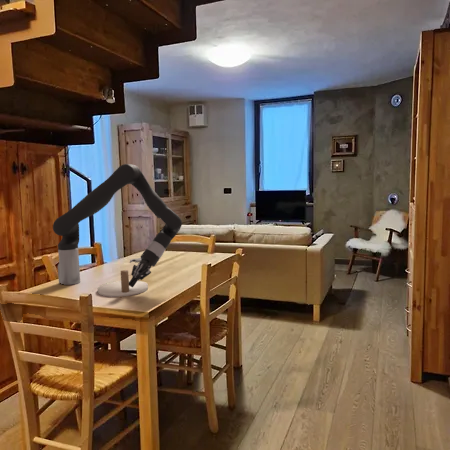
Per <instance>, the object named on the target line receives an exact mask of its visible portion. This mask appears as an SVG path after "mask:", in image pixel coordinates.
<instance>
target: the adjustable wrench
mask: <svg viewBox="0 0 450 450" xmlns="http://www.w3.org/2000/svg"><path fill="white" fill-rule="evenodd" d="M140 261H141V257H138V258H131V259H129V263H133V262H135V263H139V262H140Z"/></svg>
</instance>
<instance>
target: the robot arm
mask: <svg viewBox="0 0 450 450" xmlns="http://www.w3.org/2000/svg"><path fill="white" fill-rule="evenodd" d="M127 185H132V186H133V187H134V188H135V189H136V190H137V191H138V192H139V194H140V195H141V196H142V199H143V200H144V203H145V204H146V206H147V207H148V209H149V210H150V211H151V212H152V214H154V216H155V217H156V218H158V219H160V220H161V221H162V222H163V223H164V225H163V227H162V228H161V229H160V232H158V233H157V234H156V235H155V237H154V238H153V239H152V240H151V242H150V243H149V244H148V245H147V247H146V249H144V251H143V253H142V254H141V255H140V258H141V261H140V262H137V263H138V264H137V265H136V264H133V266H132V268H131V269H132V271H131V279H129V280H130V282H129V286H131V287H133V286H134V285H135V284H136V282H137V281H142V280H144V279H145V278H146V277H148V276H149V275H151V274H152V271H151V268H152V267H156V265H157V263H158V262H159V261H160V259H161V258H162V257H163V255H164V253H165V251H166V250H167V248H168V247H169V245H170V244H171V242H172V240H173V239H174V238H175V237H176V236H177V234H178V233H179V231H180V230H181V228H182V225H183V222H182V219H181V217H180V216H179V215H178V214H177V213H176V212H174V210H173V209H171V208H170V207H169V206H168V205H167V204H166V203H165V201H164V200H163V199H162V197H160V195H158V193H157V192H156V191H155V190H154V188H153V187H152V185H150V183H149V182H148V180H147V178H146V177H145V175H144V173H143V172H142V170H141V169H140V168H139V166H138V165H135V164H132V163H124V164H122V165H120V166H118V167H117V169H115V171H113V172H112V174H111V175H110V176H109V177H107V179H105V180H104V181H103V182H102V183H100V184H99V185H98V186H96V187H95V188H94V189H92V190H91V191H90V192H89V193H88V194H87V195H85V196H84V197H83V198H82V199H81V200H80V201H78V202H77V204H75V205H74V206H73V207H72V208H71V209H70V210H68V211H67V212H65V213H64V214H62V215H60V216H59V217H58V218H56V219H55V220H54V222H53V225H52V230H53V232H54V234H56V235H57V236H61V240H60V241H59V242H58V244H57V252H58V262H59V263H58V264H57V272H58V274H57V275H58V284H60V283H61V284H60V285H62V284H64V286H70V285H76V284H79V283H81V273H80V272H81V270H80V259H79V257H80V255H79V243H80V224H79V223H80V222H82V221H83V220H86V219H88V218H89V217H92V216H93V215H95V214H97V213H98V212H100V211H101V210H103V209H104V207H106V206H107V205H108V204H109V203H110V202H111V200H112V198H113V197H114V196H115V194H116V193H117V192H118V191H120V190H121V189H122V188H124V187H126V186H127Z"/></svg>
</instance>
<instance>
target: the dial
mask: <svg viewBox="0 0 450 450" xmlns="http://www.w3.org/2000/svg"><path fill="white" fill-rule="evenodd" d="M130 280H131V279H130V278H129V270H128V269H124V270H123V269H122V270H120V280H117V281H111V282H108V283H104V284H102V285H99V286H98V287H97V293H98V295H100V296H104V297H110V298H111V297H112V298H120V297H122V298H123V297H129V296H137V295H140V294H142V293H146V292H147V291H148V289H149V284H148V282H146V281H142V280H138V281H137V282H136V284H135V285H134V286H133V287H131V286H129V282H130Z"/></svg>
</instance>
